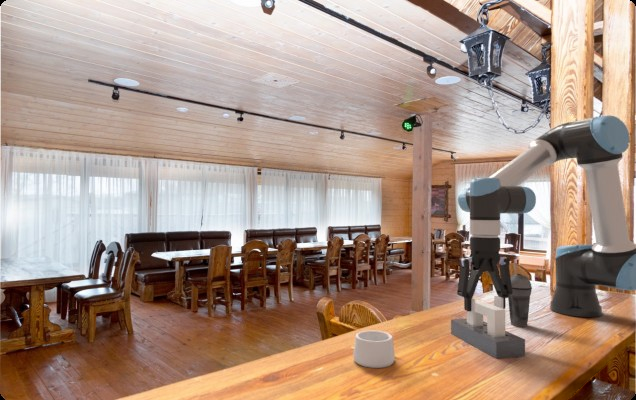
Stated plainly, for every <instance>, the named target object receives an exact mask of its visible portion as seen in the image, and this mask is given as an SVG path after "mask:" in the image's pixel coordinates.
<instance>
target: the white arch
mask: <svg viewBox="0 0 636 400" xmlns="http://www.w3.org/2000/svg"><path fill="white" fill-rule="evenodd" d="M474 299H475V298H474ZM484 317H486V320H487V321H486V322H487V334H488V335H490V336H492V337H503V336H505V331H506V308H505V309H502V308H499V307H497V306H494V304H490V303H488V302H485V301H482V300H480V299H477V298H476V299H475V325H472V324H470V323H468V322H467V324H468V325H470V326H472V327H477V326H483V321H484Z"/></svg>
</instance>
